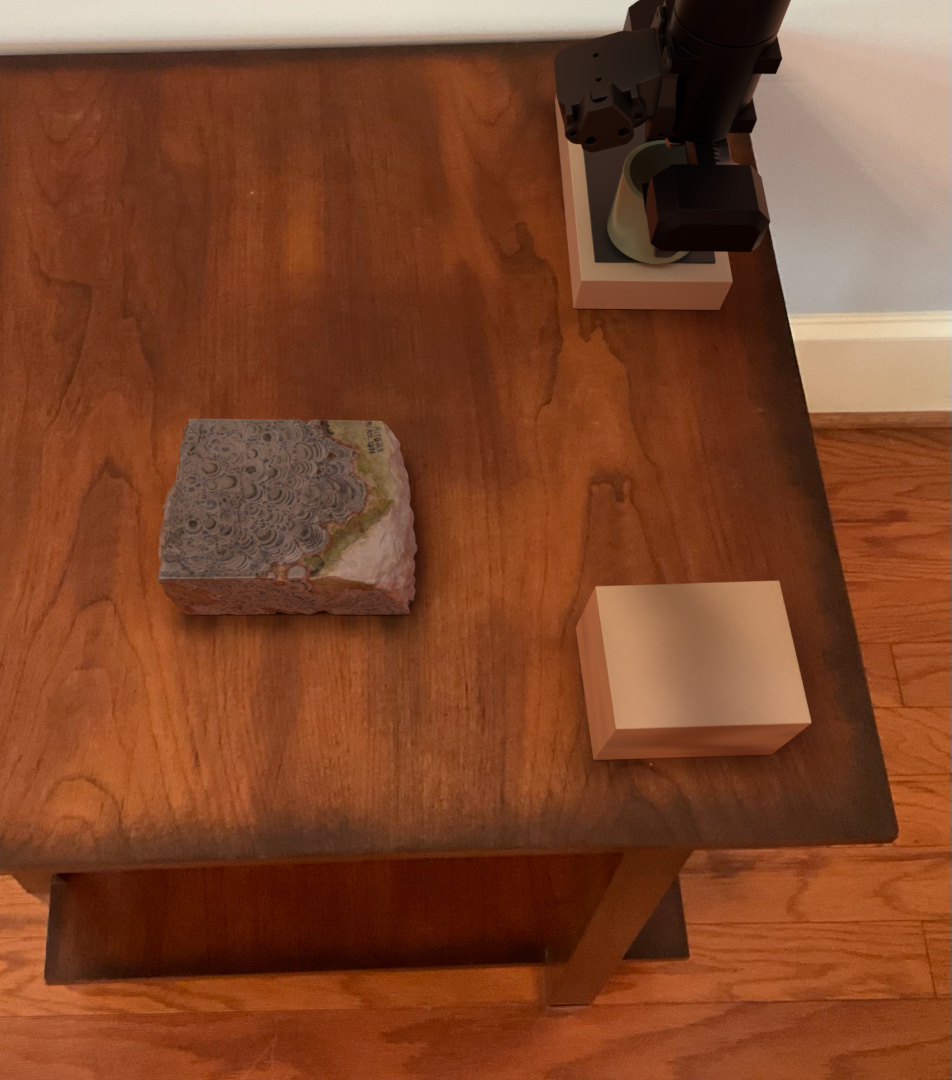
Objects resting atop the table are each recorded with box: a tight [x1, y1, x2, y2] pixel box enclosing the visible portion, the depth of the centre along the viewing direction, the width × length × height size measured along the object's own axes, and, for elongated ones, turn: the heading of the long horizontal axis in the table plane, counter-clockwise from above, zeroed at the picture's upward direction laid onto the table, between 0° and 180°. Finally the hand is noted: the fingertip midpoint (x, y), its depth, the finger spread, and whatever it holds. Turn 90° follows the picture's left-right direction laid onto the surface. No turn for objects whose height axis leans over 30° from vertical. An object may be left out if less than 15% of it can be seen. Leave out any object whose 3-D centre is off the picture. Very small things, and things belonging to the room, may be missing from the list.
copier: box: [554, 93, 733, 311], centre depth 77 cm, size 20×10×4 cm, turn 179°
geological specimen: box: [157, 418, 418, 616], centre depth 65 cm, size 11×6×15 cm
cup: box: [607, 140, 690, 264], centre depth 71 cm, size 6×6×5 cm
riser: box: [575, 580, 812, 761], centre depth 60 cm, size 10×8×6 cm
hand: (656, 218), depth 72 cm, fingers closed on cup, 6 cm apart
